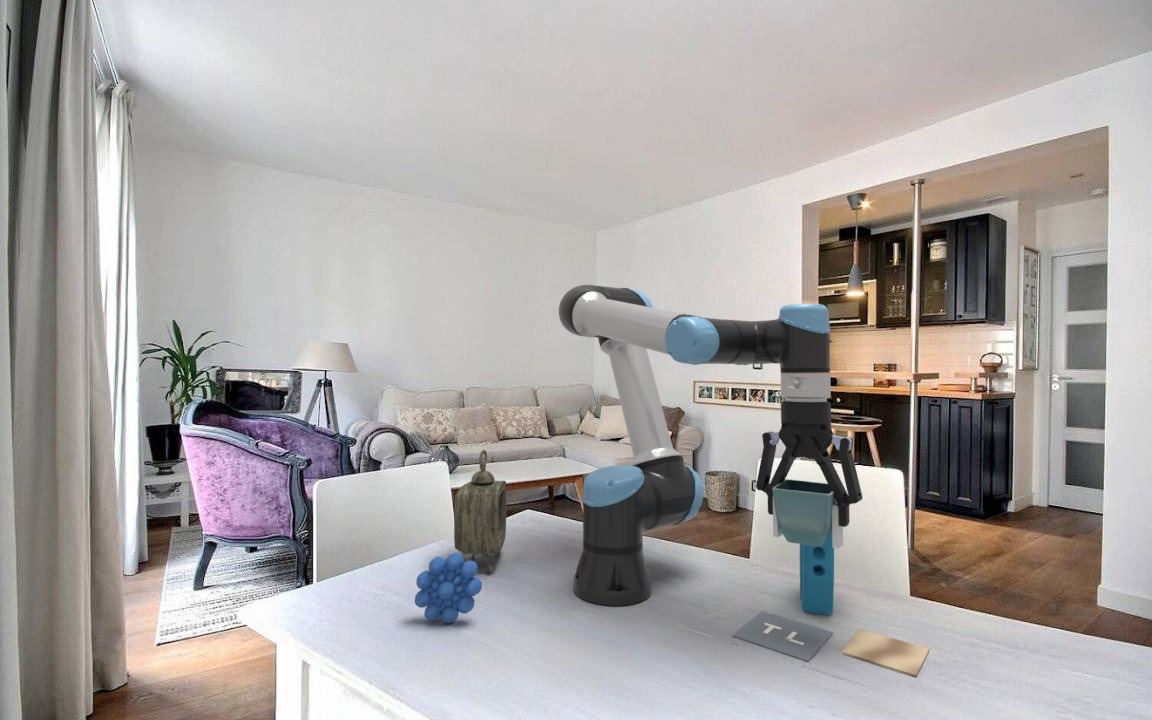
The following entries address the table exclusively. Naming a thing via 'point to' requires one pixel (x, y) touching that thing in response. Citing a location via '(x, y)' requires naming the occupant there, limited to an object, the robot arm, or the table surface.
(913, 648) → the cork mat
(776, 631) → the tile
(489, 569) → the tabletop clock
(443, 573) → the blue ball flower
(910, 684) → the table surface
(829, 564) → the block
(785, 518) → the flower pot
